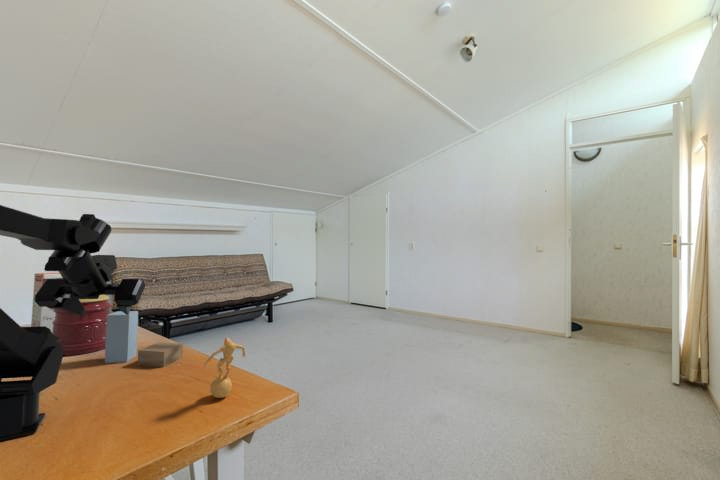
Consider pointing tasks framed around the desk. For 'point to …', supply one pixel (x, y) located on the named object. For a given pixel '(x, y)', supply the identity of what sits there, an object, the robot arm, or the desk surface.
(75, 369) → the desk surface
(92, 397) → the desk surface
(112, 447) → the desk surface
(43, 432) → the desk surface
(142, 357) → the beige block
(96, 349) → the canister
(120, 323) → the blue pillar
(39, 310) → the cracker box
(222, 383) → the figurine
